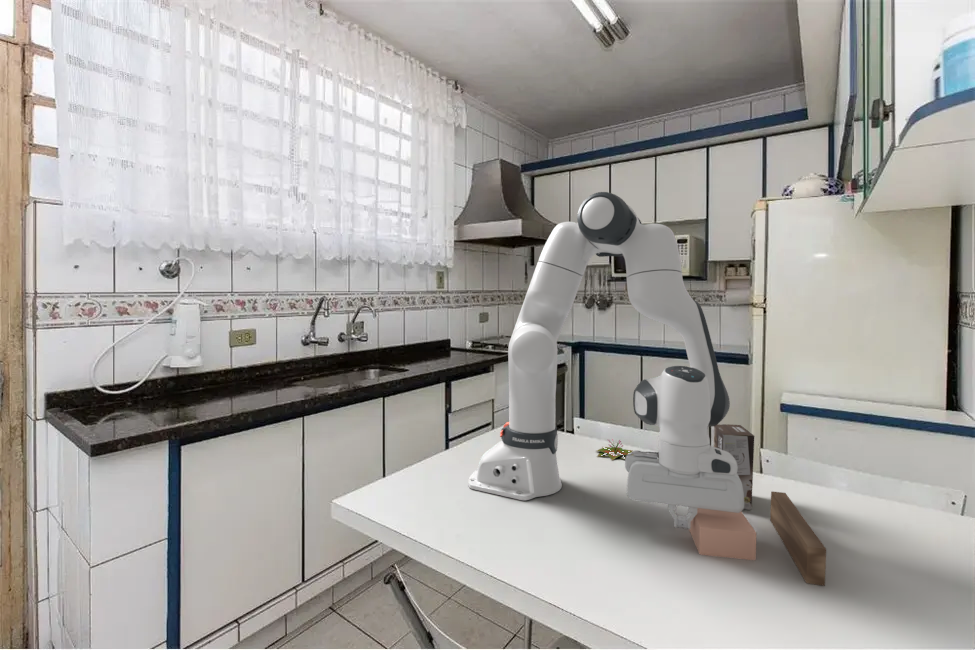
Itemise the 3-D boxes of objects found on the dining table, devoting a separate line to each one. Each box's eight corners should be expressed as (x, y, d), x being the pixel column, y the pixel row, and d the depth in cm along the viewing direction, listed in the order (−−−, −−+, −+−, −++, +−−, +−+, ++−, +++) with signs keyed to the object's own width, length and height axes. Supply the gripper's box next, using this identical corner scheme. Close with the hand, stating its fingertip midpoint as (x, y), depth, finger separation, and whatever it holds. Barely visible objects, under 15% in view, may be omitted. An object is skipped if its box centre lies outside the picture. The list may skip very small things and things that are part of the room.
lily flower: (639, 451, 139) (639, 436, 139) (634, 465, 128) (634, 449, 128) (598, 446, 144) (598, 432, 144) (590, 459, 133) (590, 443, 133)
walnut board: (806, 583, 75) (807, 546, 75) (770, 520, 96) (771, 491, 96) (824, 585, 74) (826, 549, 74) (784, 521, 95) (785, 492, 95)
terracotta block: (699, 555, 84) (700, 527, 83) (689, 530, 92) (689, 505, 92) (755, 561, 82) (756, 532, 81) (739, 535, 90) (740, 509, 90)
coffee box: (753, 510, 100) (755, 435, 99) (720, 507, 102) (722, 434, 101) (739, 492, 109) (741, 424, 108) (709, 490, 111) (711, 422, 110)
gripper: (624, 454, 88) (623, 526, 89) (747, 466, 82) (745, 544, 83) (625, 444, 94) (625, 512, 95) (740, 454, 88) (738, 527, 89)
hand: (681, 527), depth 89 cm, fingers closed
